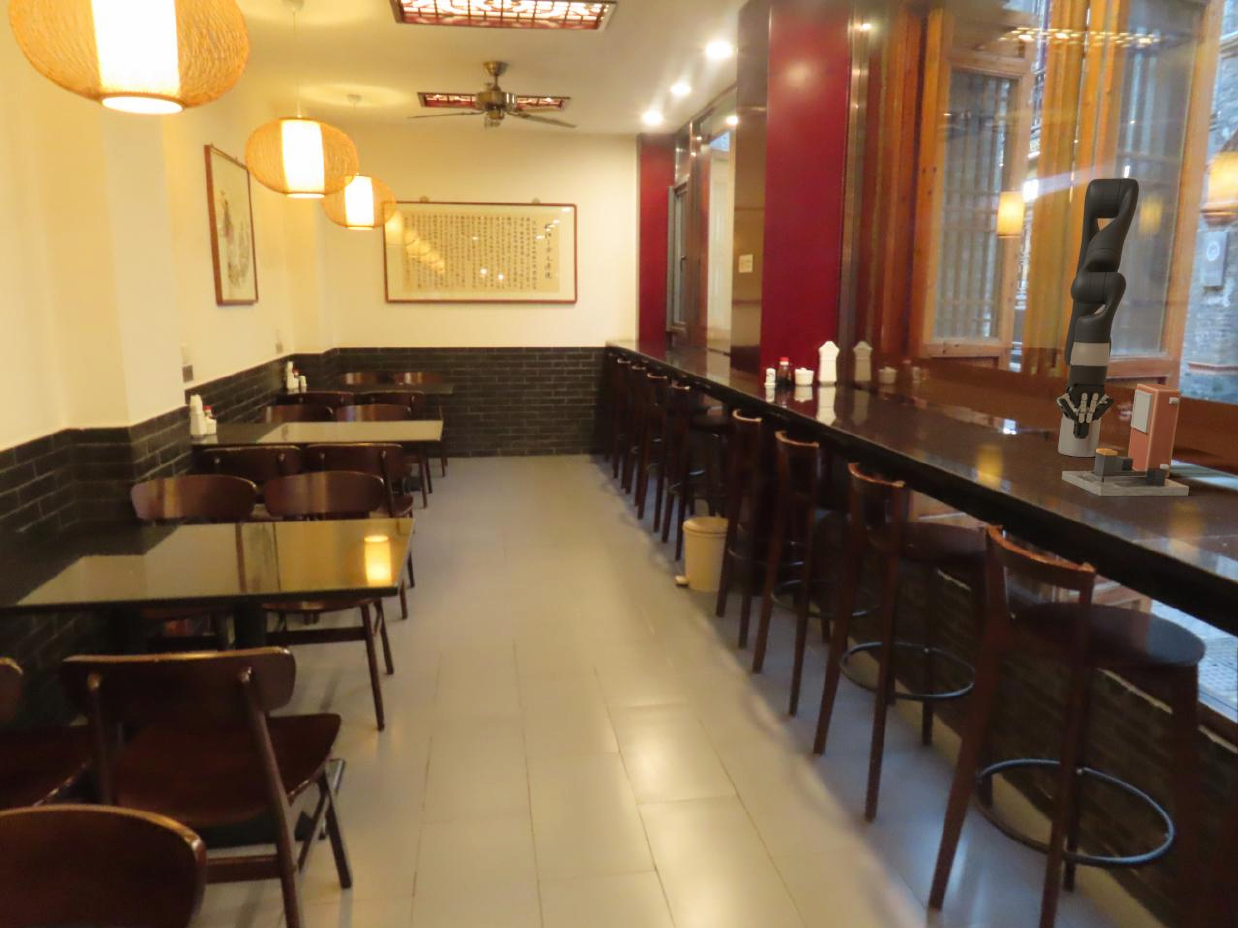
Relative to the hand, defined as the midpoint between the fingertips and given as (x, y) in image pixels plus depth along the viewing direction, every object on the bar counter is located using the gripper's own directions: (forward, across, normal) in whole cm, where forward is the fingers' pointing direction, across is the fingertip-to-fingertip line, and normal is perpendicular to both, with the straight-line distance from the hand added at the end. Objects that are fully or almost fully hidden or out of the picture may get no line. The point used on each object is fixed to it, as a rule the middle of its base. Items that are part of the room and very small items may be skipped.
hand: (1079, 438), depth 194 cm
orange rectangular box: (+12, -28, -16) cm, 34 cm away
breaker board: (+12, -12, 0) cm, 16 cm away
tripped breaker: (+9, -7, 0) cm, 11 cm away
